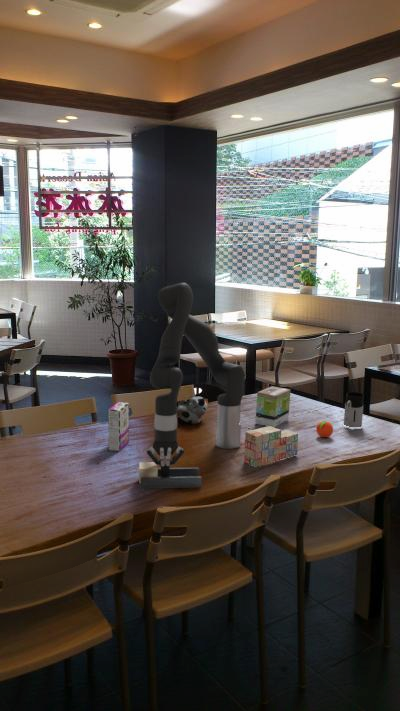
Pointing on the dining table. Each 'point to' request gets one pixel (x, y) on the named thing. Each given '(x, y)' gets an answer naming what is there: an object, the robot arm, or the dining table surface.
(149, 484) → the chute
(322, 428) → the clementine
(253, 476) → the dining table surface
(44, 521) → the dining table surface
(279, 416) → the tea box
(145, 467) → the birch block
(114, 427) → the candy bar box
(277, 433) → the stack of blocks
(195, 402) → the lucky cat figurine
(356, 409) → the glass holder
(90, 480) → the dining table surface
